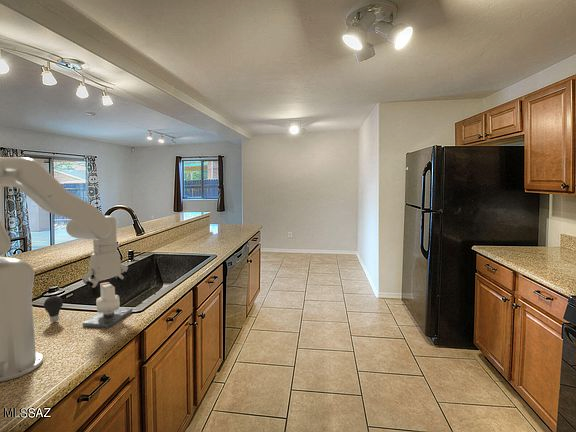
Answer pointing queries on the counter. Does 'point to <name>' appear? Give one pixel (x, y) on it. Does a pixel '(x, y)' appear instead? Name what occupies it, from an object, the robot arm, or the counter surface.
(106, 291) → the twist cap
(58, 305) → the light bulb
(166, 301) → the counter surface
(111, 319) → the plate
